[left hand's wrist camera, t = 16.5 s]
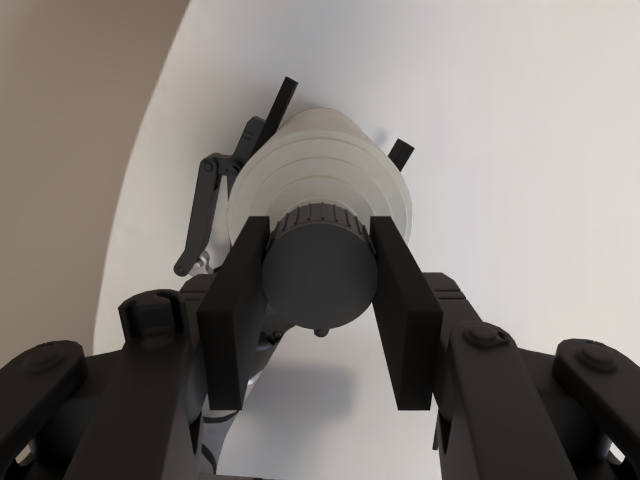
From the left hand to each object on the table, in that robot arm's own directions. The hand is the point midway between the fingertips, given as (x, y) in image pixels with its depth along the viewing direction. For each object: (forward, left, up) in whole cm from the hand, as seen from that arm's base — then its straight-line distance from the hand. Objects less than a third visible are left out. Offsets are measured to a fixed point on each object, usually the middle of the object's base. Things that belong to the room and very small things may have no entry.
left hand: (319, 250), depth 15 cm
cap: (0, 0, +2) cm, 2 cm away
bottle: (0, 0, -21) cm, 21 cm away
